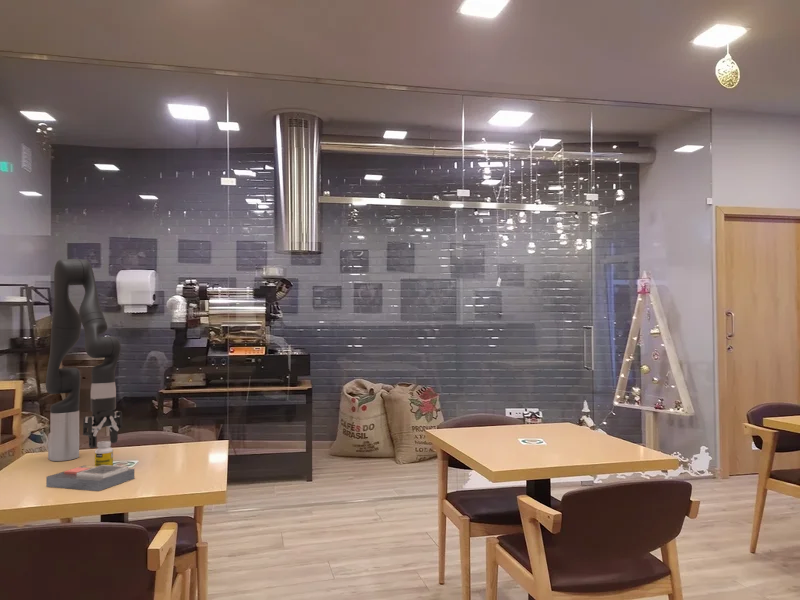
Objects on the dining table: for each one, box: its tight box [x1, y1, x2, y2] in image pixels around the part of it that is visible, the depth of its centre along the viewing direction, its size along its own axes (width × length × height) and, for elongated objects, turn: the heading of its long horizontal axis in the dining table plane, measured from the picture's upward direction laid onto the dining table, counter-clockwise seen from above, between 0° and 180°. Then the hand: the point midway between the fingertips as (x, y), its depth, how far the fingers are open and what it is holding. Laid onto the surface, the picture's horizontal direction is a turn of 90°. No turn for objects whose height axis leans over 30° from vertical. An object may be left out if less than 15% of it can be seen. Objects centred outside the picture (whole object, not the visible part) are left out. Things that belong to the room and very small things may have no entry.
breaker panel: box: [45, 464, 135, 492], centre depth 176 cm, size 20×14×4 cm
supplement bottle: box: [94, 440, 114, 466], centre depth 190 cm, size 5×5×10 cm
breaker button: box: [63, 466, 90, 475], centre depth 178 cm, size 5×5×4 cm
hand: (103, 445), depth 190 cm, fingers open, 8 cm apart
